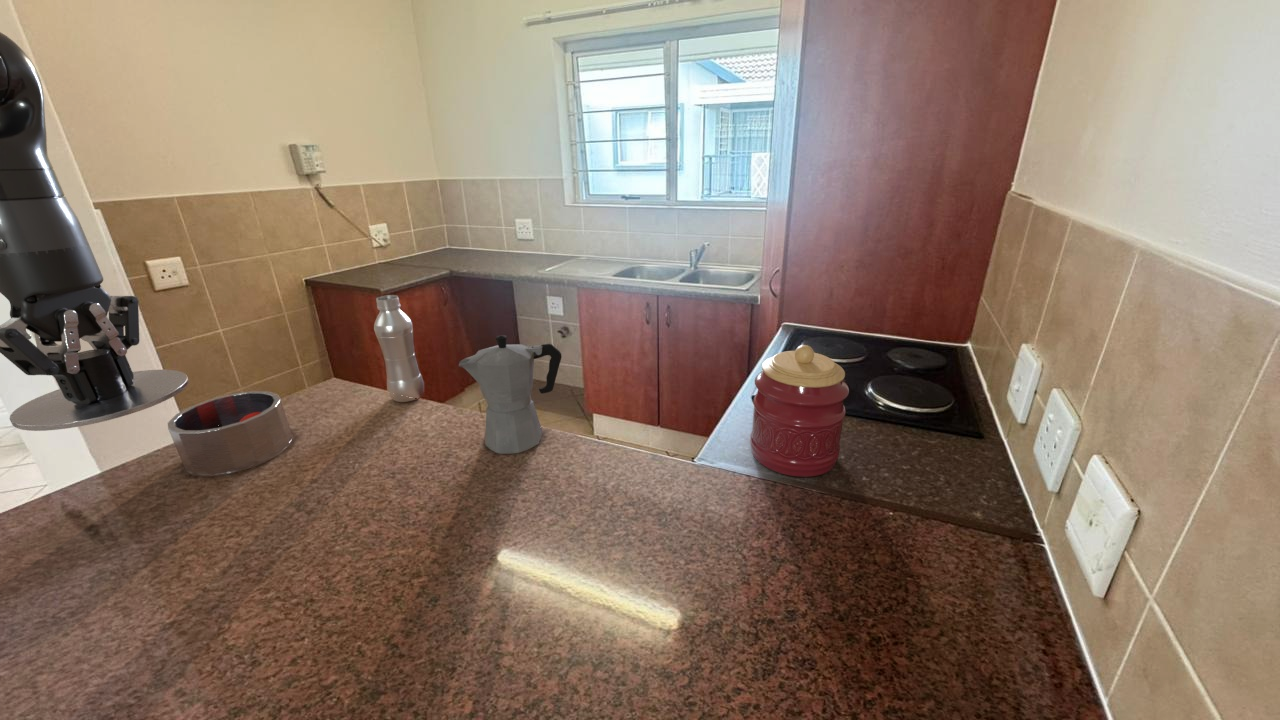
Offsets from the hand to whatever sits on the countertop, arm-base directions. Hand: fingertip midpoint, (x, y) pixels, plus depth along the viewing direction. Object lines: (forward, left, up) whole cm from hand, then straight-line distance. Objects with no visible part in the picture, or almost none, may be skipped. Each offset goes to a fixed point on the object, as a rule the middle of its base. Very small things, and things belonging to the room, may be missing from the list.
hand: (104, 393), depth 58 cm
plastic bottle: (+16, +35, -18) cm, 42 cm away
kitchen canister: (+85, +16, -18) cm, 88 cm away
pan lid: (0, 0, -1) cm, 1 cm away
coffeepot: (+42, +20, -18) cm, 50 cm away
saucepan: (-2, +16, -18) cm, 24 cm away
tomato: (+1, +17, -15) cm, 23 cm away
